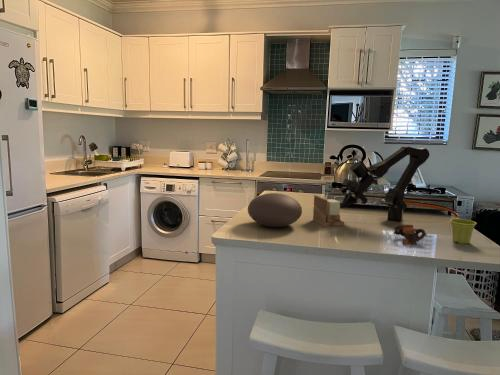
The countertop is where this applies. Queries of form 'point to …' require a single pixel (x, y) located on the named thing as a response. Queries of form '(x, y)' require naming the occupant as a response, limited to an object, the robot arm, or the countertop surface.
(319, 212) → the walnut key housing
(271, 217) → the flattened ellipsoid
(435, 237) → the countertop surface
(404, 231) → the pottery mug
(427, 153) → the robot arm
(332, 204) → the cream upright block
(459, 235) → the plant pot
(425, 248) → the countertop surface
